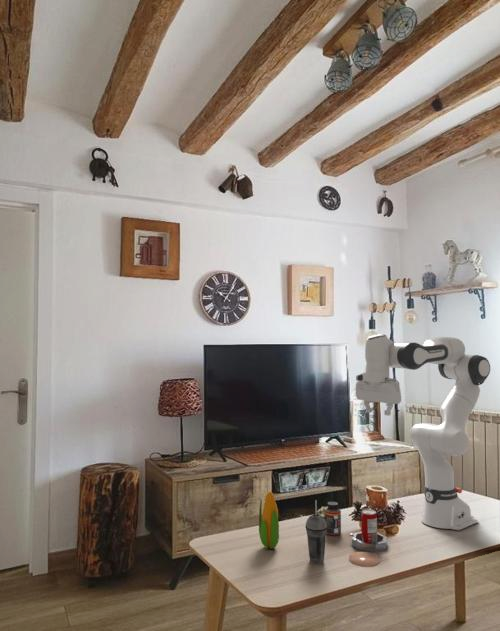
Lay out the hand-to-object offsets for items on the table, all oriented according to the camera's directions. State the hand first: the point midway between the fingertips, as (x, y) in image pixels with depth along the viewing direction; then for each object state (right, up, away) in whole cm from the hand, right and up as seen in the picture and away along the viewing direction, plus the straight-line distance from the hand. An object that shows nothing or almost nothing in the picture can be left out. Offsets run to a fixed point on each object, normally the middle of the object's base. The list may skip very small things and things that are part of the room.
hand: (378, 413), depth 192 cm
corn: (-42, -46, -13) cm, 63 cm away
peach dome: (-10, -45, -22) cm, 51 cm away
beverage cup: (-26, -45, -24) cm, 57 cm away
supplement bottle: (-17, -46, +2) cm, 49 cm away
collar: (-6, -45, -10) cm, 47 cm away
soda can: (-6, -46, -10) cm, 47 cm away
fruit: (-20, -47, +9) cm, 52 cm away
